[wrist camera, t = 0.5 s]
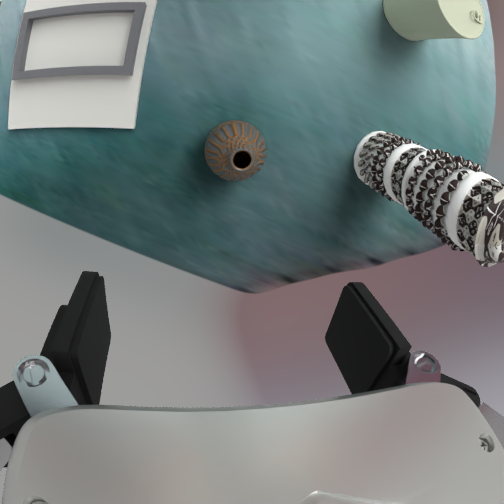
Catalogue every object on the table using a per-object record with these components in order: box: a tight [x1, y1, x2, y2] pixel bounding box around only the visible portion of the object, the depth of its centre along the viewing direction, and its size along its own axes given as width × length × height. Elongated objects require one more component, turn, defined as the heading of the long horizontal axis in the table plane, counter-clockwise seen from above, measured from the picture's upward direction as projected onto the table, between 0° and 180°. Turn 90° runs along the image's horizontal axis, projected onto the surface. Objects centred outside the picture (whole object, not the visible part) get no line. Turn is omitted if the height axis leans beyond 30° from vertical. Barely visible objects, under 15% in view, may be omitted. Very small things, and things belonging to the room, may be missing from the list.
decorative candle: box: [354, 131, 504, 267], centre depth 31 cm, size 9×9×25 cm
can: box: [383, 0, 485, 41], centre depth 26 cm, size 9×9×12 cm
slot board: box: [8, 0, 158, 129], centre depth 26 cm, size 22×18×2 cm
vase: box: [204, 120, 266, 181], centre depth 34 cm, size 7×7×9 cm
